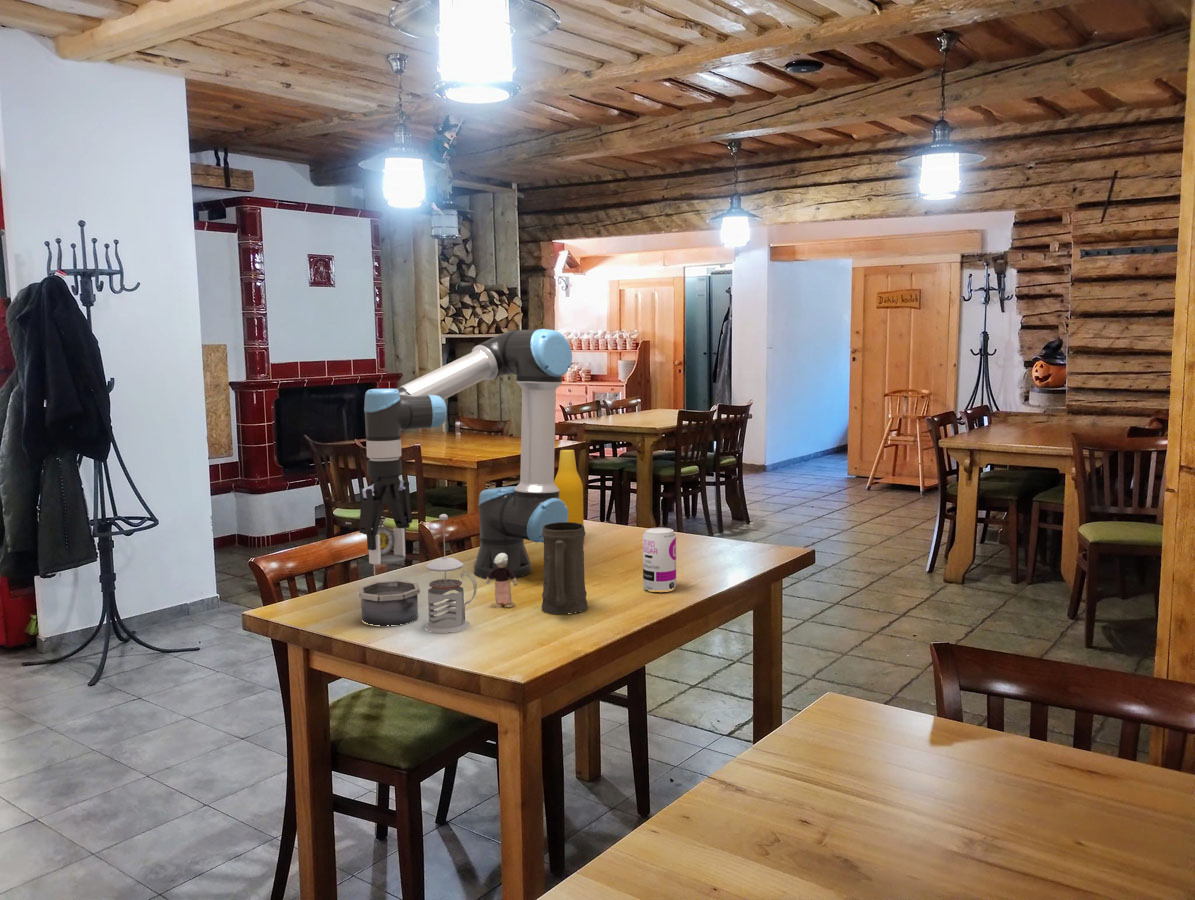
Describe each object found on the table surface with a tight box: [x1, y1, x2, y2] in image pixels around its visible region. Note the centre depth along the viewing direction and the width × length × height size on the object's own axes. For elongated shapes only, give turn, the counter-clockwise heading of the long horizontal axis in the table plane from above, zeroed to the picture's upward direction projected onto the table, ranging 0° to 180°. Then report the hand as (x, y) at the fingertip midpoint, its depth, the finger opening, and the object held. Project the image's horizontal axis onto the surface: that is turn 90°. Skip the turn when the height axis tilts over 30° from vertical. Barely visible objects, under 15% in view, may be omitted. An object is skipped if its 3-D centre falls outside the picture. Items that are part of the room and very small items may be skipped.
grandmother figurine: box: [485, 553, 519, 608], centre depth 224 cm, size 8×4×13 cm, turn 91°
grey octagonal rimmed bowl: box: [358, 579, 421, 627], centre depth 215 cm, size 13×13×7 cm
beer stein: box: [541, 522, 589, 615], centre depth 218 cm, size 15×11×20 cm
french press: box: [424, 513, 478, 634], centre depth 208 cm, size 10×12×25 cm
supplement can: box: [642, 527, 677, 591], centre depth 236 cm, size 8×8×15 cm
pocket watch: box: [377, 515, 406, 565], centre depth 213 cm, size 8×8×10 cm
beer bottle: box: [554, 449, 585, 545], centre depth 287 cm, size 9×9×29 cm
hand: (387, 559), depth 214 cm, fingers closed on pocket watch, 7 cm apart
